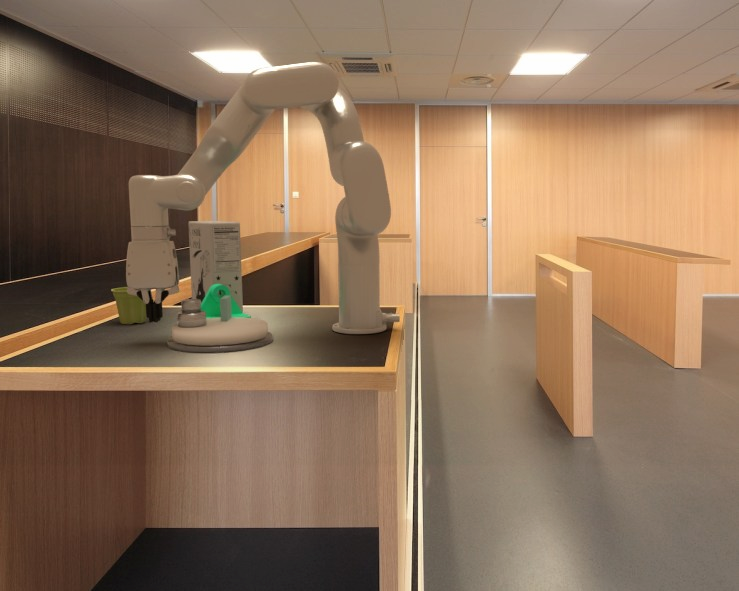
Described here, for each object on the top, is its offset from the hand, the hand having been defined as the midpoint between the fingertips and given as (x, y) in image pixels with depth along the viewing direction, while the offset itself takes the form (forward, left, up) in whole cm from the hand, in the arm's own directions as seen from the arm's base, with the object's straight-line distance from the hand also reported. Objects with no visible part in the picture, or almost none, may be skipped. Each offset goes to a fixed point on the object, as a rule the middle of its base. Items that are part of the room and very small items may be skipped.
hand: (154, 321), depth 142 cm
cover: (-8, 0, -1) cm, 8 cm away
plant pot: (+13, -27, -5) cm, 30 cm away
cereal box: (-6, -35, -5) cm, 36 cm away
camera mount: (-11, -19, -5) cm, 22 cm away
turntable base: (-14, 0, -5) cm, 15 cm away
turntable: (-14, 0, -3) cm, 14 cm away
